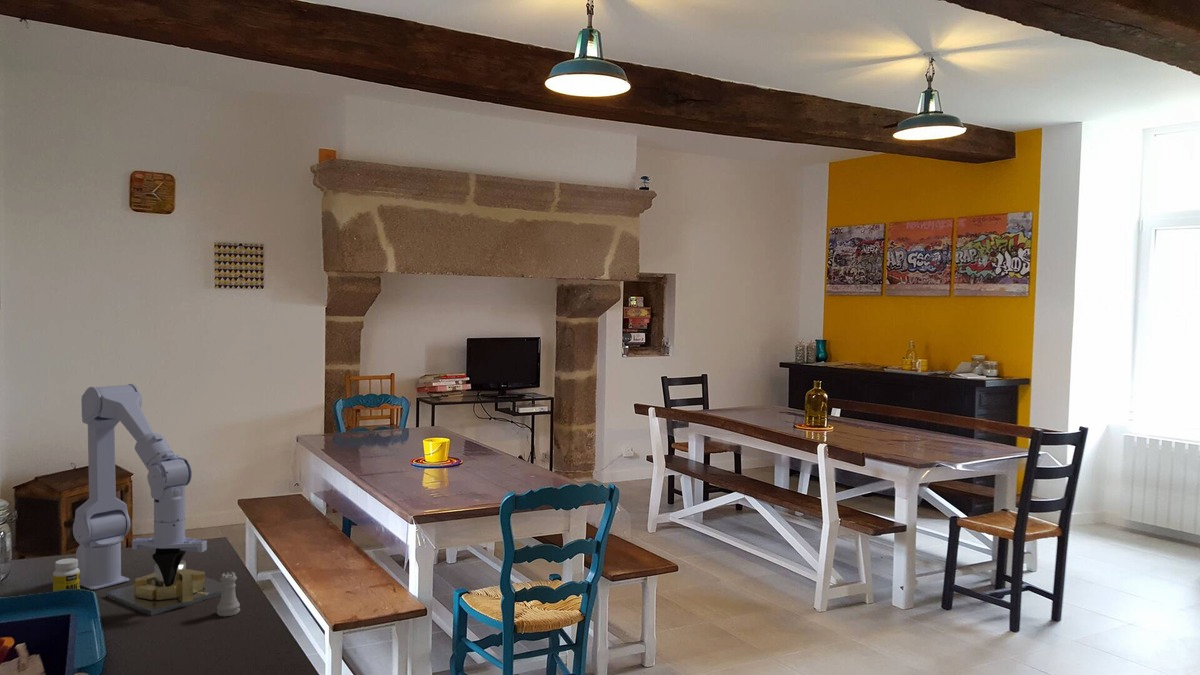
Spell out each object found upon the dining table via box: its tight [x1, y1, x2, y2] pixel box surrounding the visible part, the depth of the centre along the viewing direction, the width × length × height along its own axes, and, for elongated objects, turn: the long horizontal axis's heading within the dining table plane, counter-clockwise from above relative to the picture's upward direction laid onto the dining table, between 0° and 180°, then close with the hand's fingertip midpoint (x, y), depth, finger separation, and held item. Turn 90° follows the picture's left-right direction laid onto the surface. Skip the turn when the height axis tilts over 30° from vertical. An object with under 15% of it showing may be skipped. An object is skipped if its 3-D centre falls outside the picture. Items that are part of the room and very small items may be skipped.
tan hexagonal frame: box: [134, 568, 206, 603], centre depth 183 cm, size 13×17×6 cm
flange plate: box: [104, 559, 222, 617], centre depth 185 cm, size 18×18×7 cm
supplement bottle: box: [52, 557, 81, 592], centre depth 180 cm, size 5×5×8 cm
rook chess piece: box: [216, 571, 241, 618], centre depth 175 cm, size 4×4×8 cm
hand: (169, 585), depth 177 cm, fingers closed
